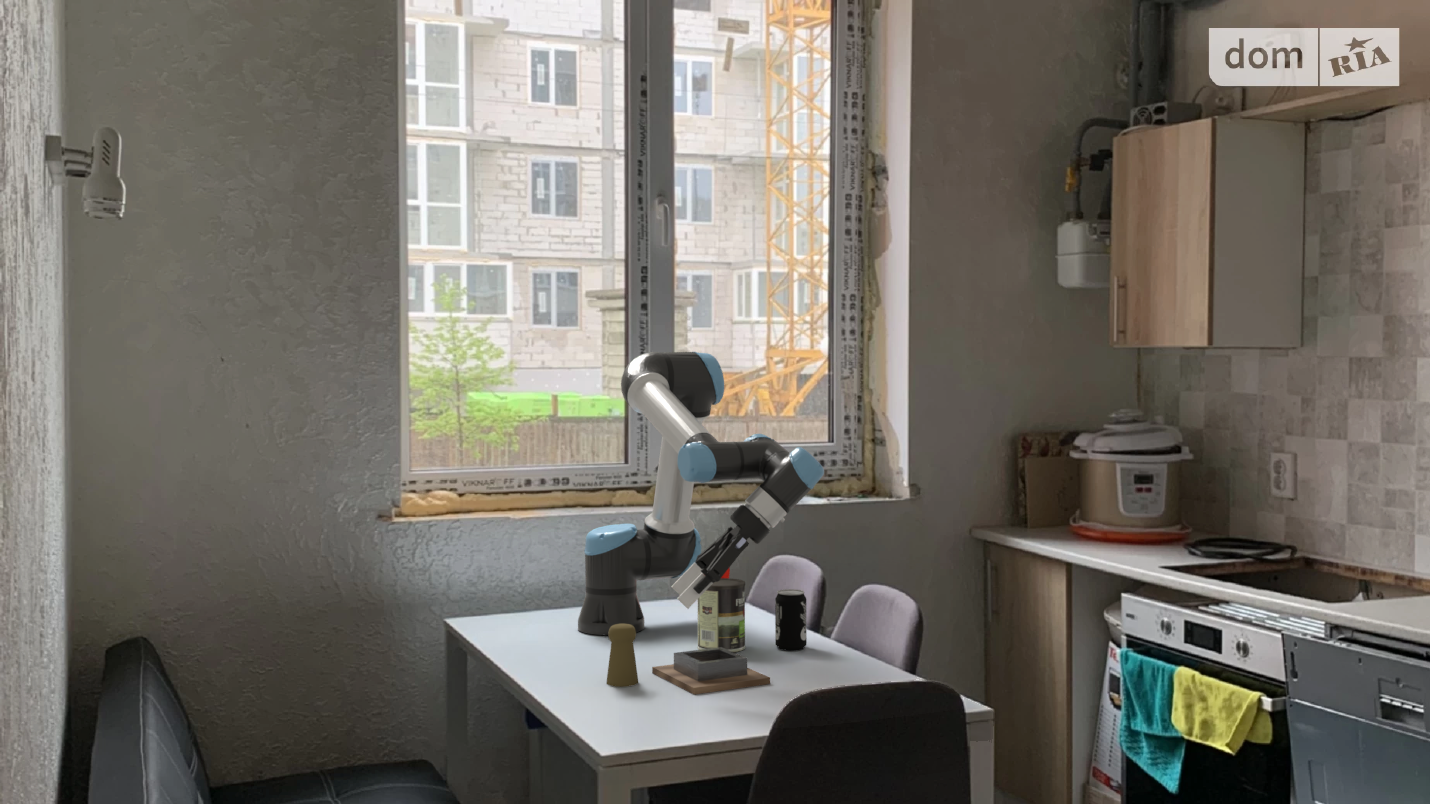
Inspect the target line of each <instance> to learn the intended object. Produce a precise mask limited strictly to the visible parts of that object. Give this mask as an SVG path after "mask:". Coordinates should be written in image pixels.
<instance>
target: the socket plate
mask: <svg viewBox="0 0 1430 804" xmlns="http://www.w3.org/2000/svg"><path fill="white" fill-rule="evenodd" d="M651 672H652V674H653V675H654V676H655V675H656V676H657V677H659V678H661V679H663V680H665V681H667V682H669V683H670V684H673V685H674V686H676V687H679V688H681V689H682V690H685V691H687V692H688V693H690V694H692V695H700V694H707V693H714V692H721V691H729V690H736V689H742V688H749V687H750V688H751V687H758V686H764V685H765V686H766V685H771V677H770V676H767V675H765V674H763V673H761V672H758V671H757V670H754V669H751V668H750V667H748V657H746V656H744V655H741V654H738V652H732V651H729V650H727V649H725V648H722V647H719V648H710V649H702V650H699V649H695V650H686V651H679V652H673V664H664V665H658V666H656V665H655V666H652V668H651Z"/></svg>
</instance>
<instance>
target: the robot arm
mask: <svg viewBox="0 0 1430 804" xmlns="http://www.w3.org/2000/svg"><path fill="white" fill-rule="evenodd" d="M620 382H621V383H620V388H621V393H622V397H623V398H624V400H625V402H626V404H627V406H628V407H630V408H631V409H632V410H633V411H634V412H636V413H637V414H640V415H641V414H642V415H643V416H644V417H645V418H646V419H647V420H648V421H649V422H650V424H652V426H653V427H654V428H655V429H656V431H658V433H659V434H660V435H661V443H660V451H659V452H660V453H659V456H658V457H659V460H658V467H657V472H656V473H657V474H656V481H655V489H654V498H653V507H652V512H651V513H649V515H647V516H646V517H645V518H644V523H643V524H644V525H643V529H638V528H637V527H636V525H635V524H633V523H619V524H617V523H616V524H615V523H614V524H610V525H609V524H608V525H603V526H599V527H596V528H594V529H591V530H590V531H589V532H587V534H586V536H585V544H584V545H585V546H584V558H585V559H584V560H585V561H584V562H585V563H584V566H585V569H584V570H585V571H584V574H585V580H584V581H585V597H584V600H583V603H582V607H581V609H580V613H579V615H578V619H577V629H578V631H579V632H581V633H584V634H588V635H597V636H608V632H609V629H610V627H611V626H613V625H615V624H630V625H632V626H634V628H635V630H636V633H638V632H641V631H644V630H645V616H644V612H643V610H642V607H641V604H640V600H639V598H638V594H637V593H638V592H637V591H638V588H637V583H638V582H637V581H648V580H660V579H676V578H678V579H677V580H676V581H675V582H674V583H673V584H672V585H671V588H672V589H673V590H674V591H675V592H676V593H677V594H678V595H679V596H678V597H677V598H676V599H677V601H678V602H679V603H681V604H682V605H683V607H685V608H686V609H687V610H689V609H690V608H691V607H692V606H693V604H694V603H695V602H697V599H698V598H699V597H700V596H701V595H702V594H703V593H704V592H705V591H706V590H707V589H708V588H709V587H710V586H711V585H712V584H713V583H714V582H718V581H719V580H720V579H721V577H722V576H723V575H724V574H725V572H726V571H727V570H728V569H729V567H731V566H732V565H733V563H735V561H736V560H737V558H738V557H739V556H740V555H741V553H742V552H743V551H744V550H746V548H748V546H749V545H750V542H748V539H751V541H753V543H755V544H758V545H759V544H760V543H761V542H762V541H763V540H764V539H765V538H766V536H768V535H769V534H770V529H769V528H775V527H776V526H777V525H778V524H779V523H780V522H781V523H784V522H785V521H786V519H785V517H786V515H787V514H788V513H790V511H792V509H794V507H795V506H796V505H798V503H799V502H801V500H802V499H803V498H804V497H806V495H808V493H809V492H810V491H811V490H813V489H814V487H815V486H817V484H818V483H819V481H821V479H822V477H823V476H824V474H825V469H824V467H823V465H822V464H821V463H820V462H819V461H818V460H817V458H815V457H814V455H812V454H811V453H810V452H809V451H808V450H807V449H805V448H803V447H801V446H797V447H795V448H794V449H793V450H792V451H788V450H787V449H785V448H784V447H783V446H782V445H781V444H779V443H778V442H777V441H776V440H774V439H773V438H771V437H770V436H768V435H765V434H762V433H754V434H752V435H750V436H749V437H746V438H745V439H744V440H743V441H718V439H717V438H715V437H714V436H713V435H712V434H711V432H710V431H708V429H707V428H706V427H705V426H704V425H703V421H705V420H706V419H707V418H709V417H710V416H711V411H712V406H716V405H717V404H719V403H720V402H721V401H722V399H723V398H724V394H725V378H724V372H723V370H722V368H721V365H720V363H719V361H718V360H717V357H715V356H714V355H712V354H710V353H708V352H697V351H672V352H671V351H669V352H668V351H666V352H664V351H662V352H661V351H650V352H645V353H643V354H639V355H638V356H636V357H634V359H633V360H631V361H630V362H629V363H628V364H627V365H626V367H625V369H624V370H623V373H622V376H621V381H620ZM745 480H747V481H748V480H750V481H751V480H761V481H763V482H761V484H759V485H758V486H757V487H756V488H755V489H754V491H752V493H750V494H749V496H748V497H747V498H746V499H745V501H744V502H745V504H740V505H739V506H738V507H737V509H735V510H734V511H733V512H732V514H731V515H730V516H729V517H730V520H731V521H732V522H733V524H735V527H734V528H733V527H732V526H730V527H727V529H726V530H725V531H724V532H723V533H722V534H721V535H720V536H719V537H718V538H717V539H715V540H714V541H713V542H712V543H711V544H710V545H709V546H707V547H706V548H705V549H704V550H703V551H702V544H701V541H702V538H701V535H700V532H699V531H698V529H696V528H695V525H696V524H695V523H694V521H693V520H692V519H691V518H690V514H691V507H692V499H693V494H694V493H693V492H694V485H695V483H702V484H706V483H708V482H709V483H710V482H712V483H713V482H724V481H725V482H726V481H727V482H728V481H729V482H730V481H745Z"/></svg>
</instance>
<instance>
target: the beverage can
mask: <svg viewBox="0 0 1430 804" xmlns="http://www.w3.org/2000/svg"><path fill="white" fill-rule="evenodd" d="M776 592H777V594H776V597H775V598H774V599H775V600H774V605H775V606H774V608H775V610H774V611H775V612H774V615H775V616H774V624H775V625H774V626H775V628H774V629H775V630H774V631H775V634H774V635H775V637H774V638H775V639H774V640H775V642H774V643H775V646H776V647H777V649H779V650H780V651H781V650H782V651H788V652H789V651H790V652H796V651H801V650H804V649H805V647H806V646H807V645H808V644H807V640H808V639H807V597H806V594H805V591H804V590H801V589H795V588H790V589H789V588H787V589H785V588H784V589H780V590H777V591H776Z"/></svg>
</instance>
